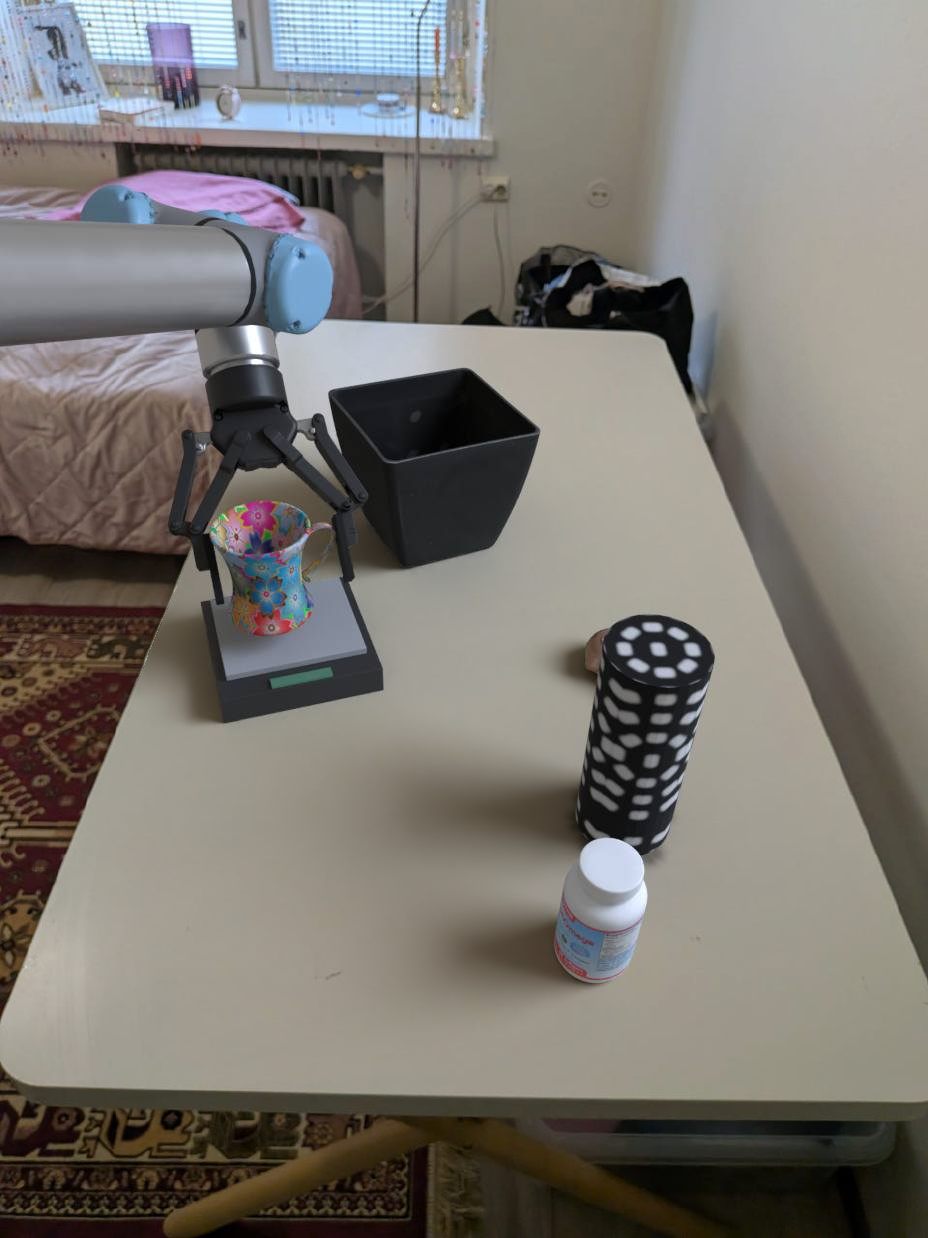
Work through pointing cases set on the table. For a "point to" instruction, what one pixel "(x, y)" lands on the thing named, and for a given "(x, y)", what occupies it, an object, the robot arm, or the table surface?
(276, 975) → the table surface
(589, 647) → the oil lamp
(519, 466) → the flower pot
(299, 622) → the mug
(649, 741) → the spotted tube
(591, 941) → the pill bottle
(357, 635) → the scale
